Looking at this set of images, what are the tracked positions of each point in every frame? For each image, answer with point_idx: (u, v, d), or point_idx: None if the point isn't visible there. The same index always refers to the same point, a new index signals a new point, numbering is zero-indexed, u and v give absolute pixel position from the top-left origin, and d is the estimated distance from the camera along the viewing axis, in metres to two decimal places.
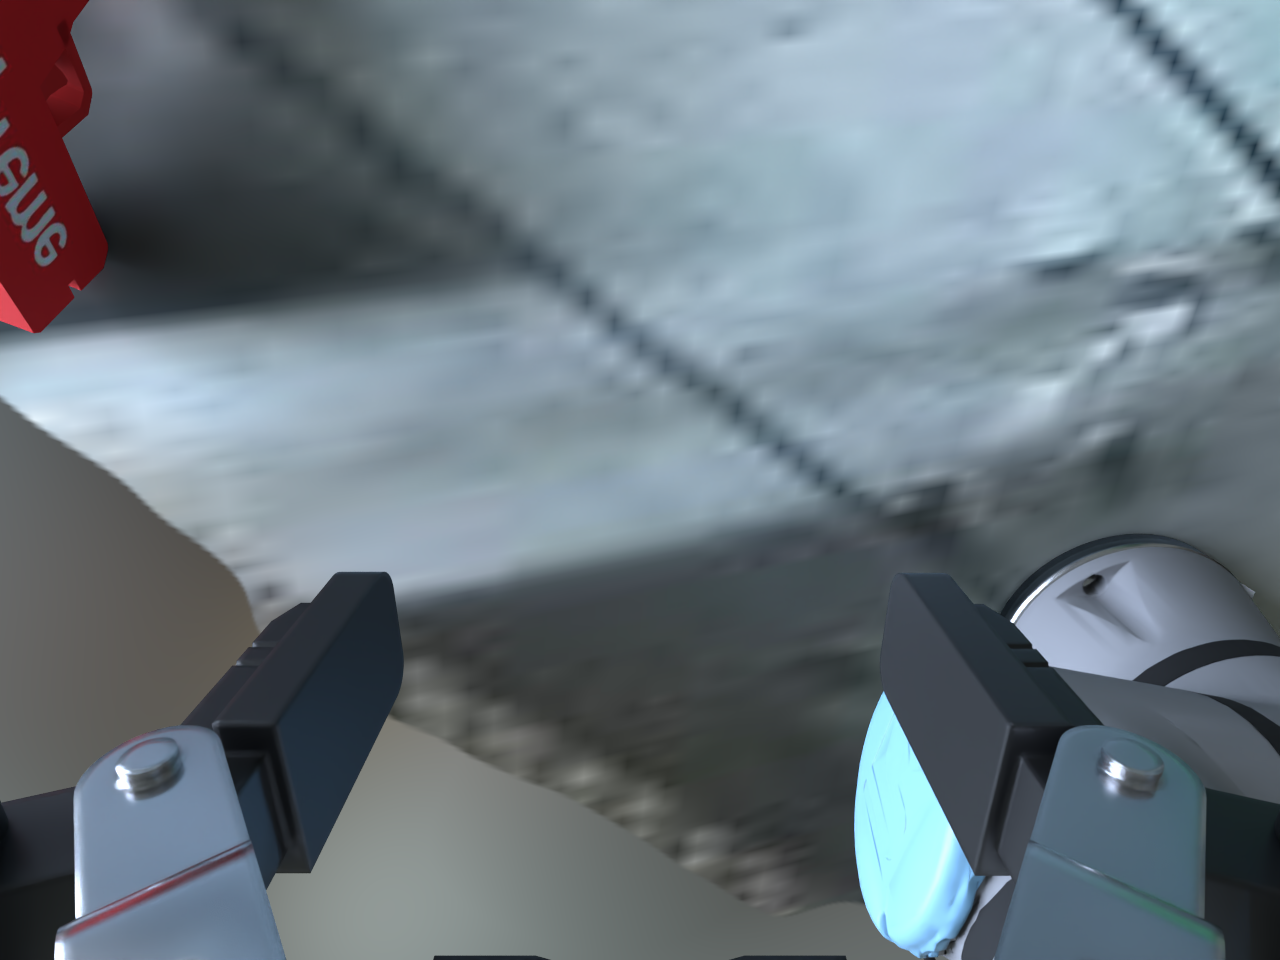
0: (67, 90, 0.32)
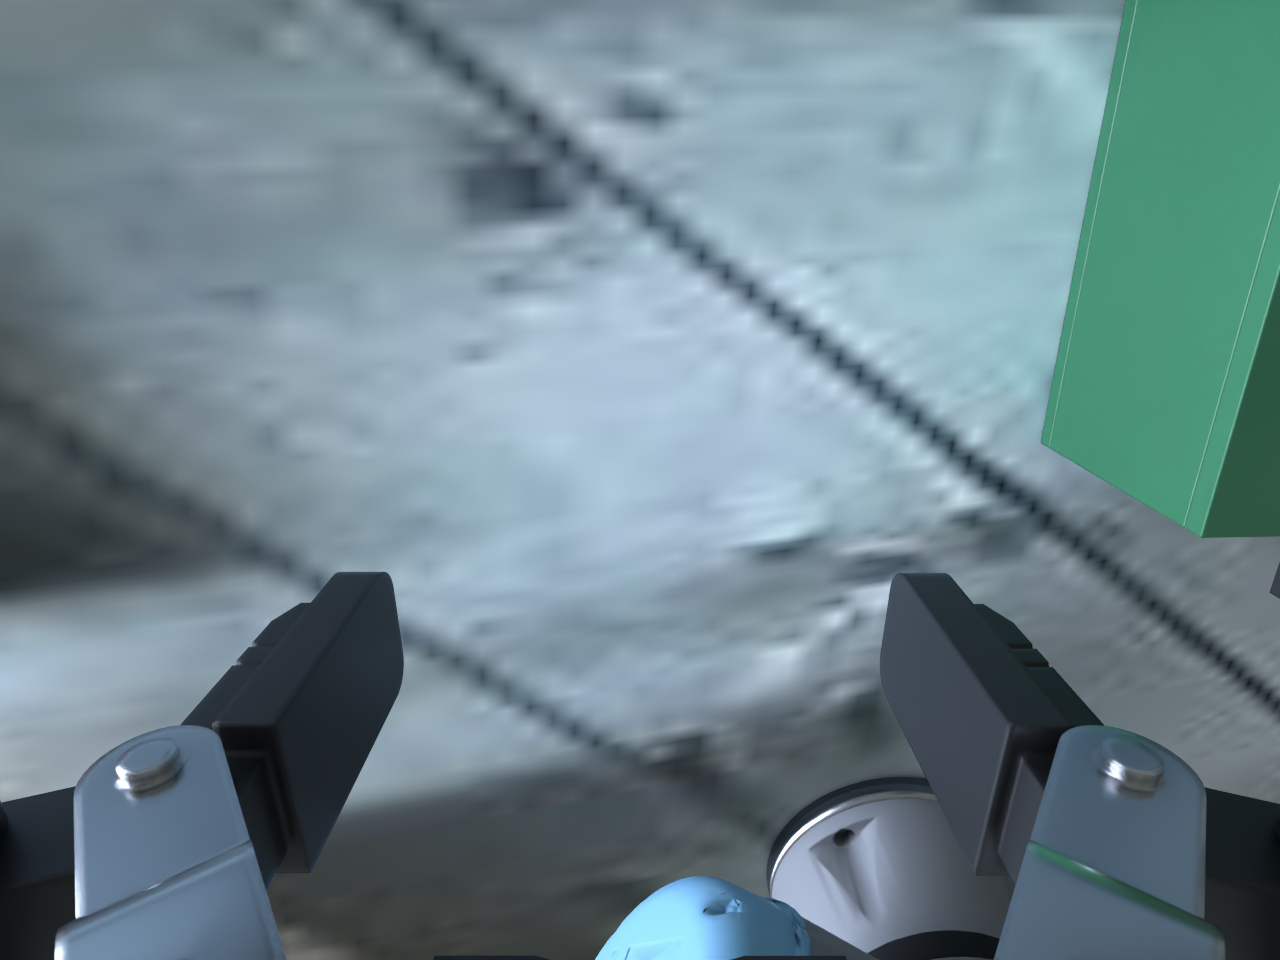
0: None
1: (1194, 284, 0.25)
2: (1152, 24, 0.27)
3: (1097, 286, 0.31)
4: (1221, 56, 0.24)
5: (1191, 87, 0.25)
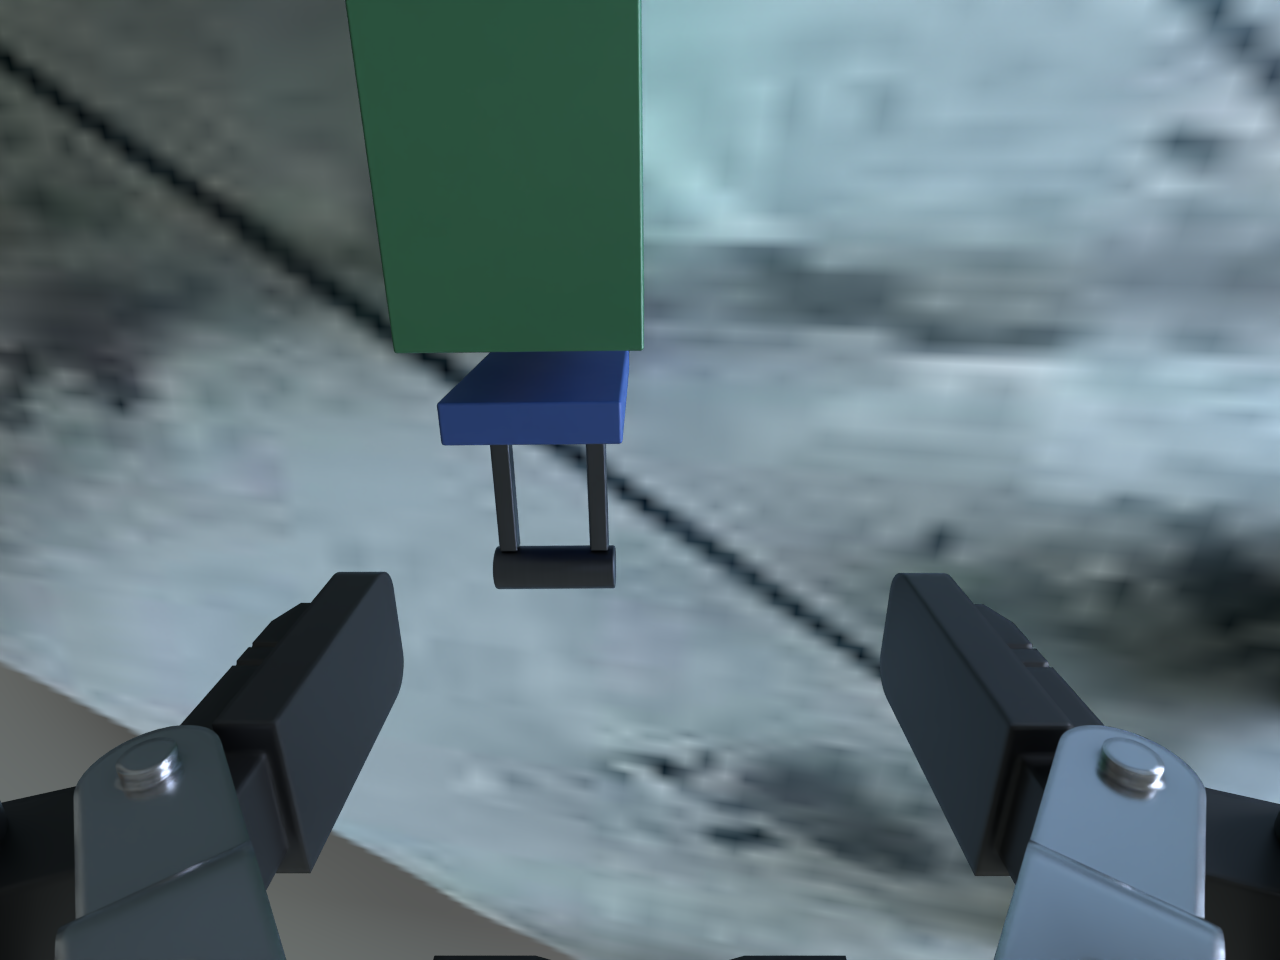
0: None
1: None
2: None
3: None
4: None
5: None
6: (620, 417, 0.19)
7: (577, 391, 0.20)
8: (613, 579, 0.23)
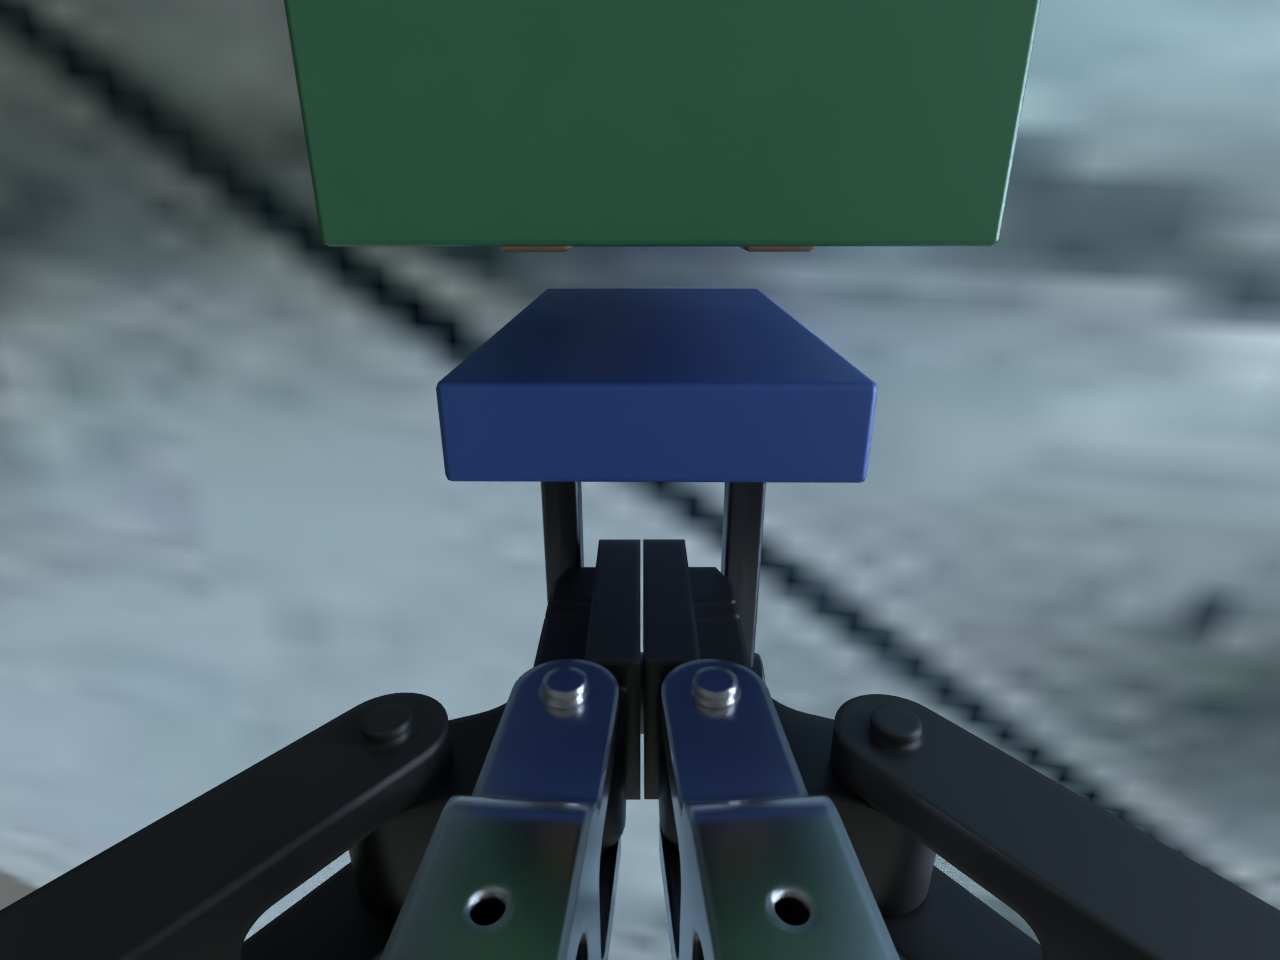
0: None
1: None
2: None
3: None
4: None
5: None
6: (871, 421, 0.08)
7: (750, 362, 0.09)
8: None
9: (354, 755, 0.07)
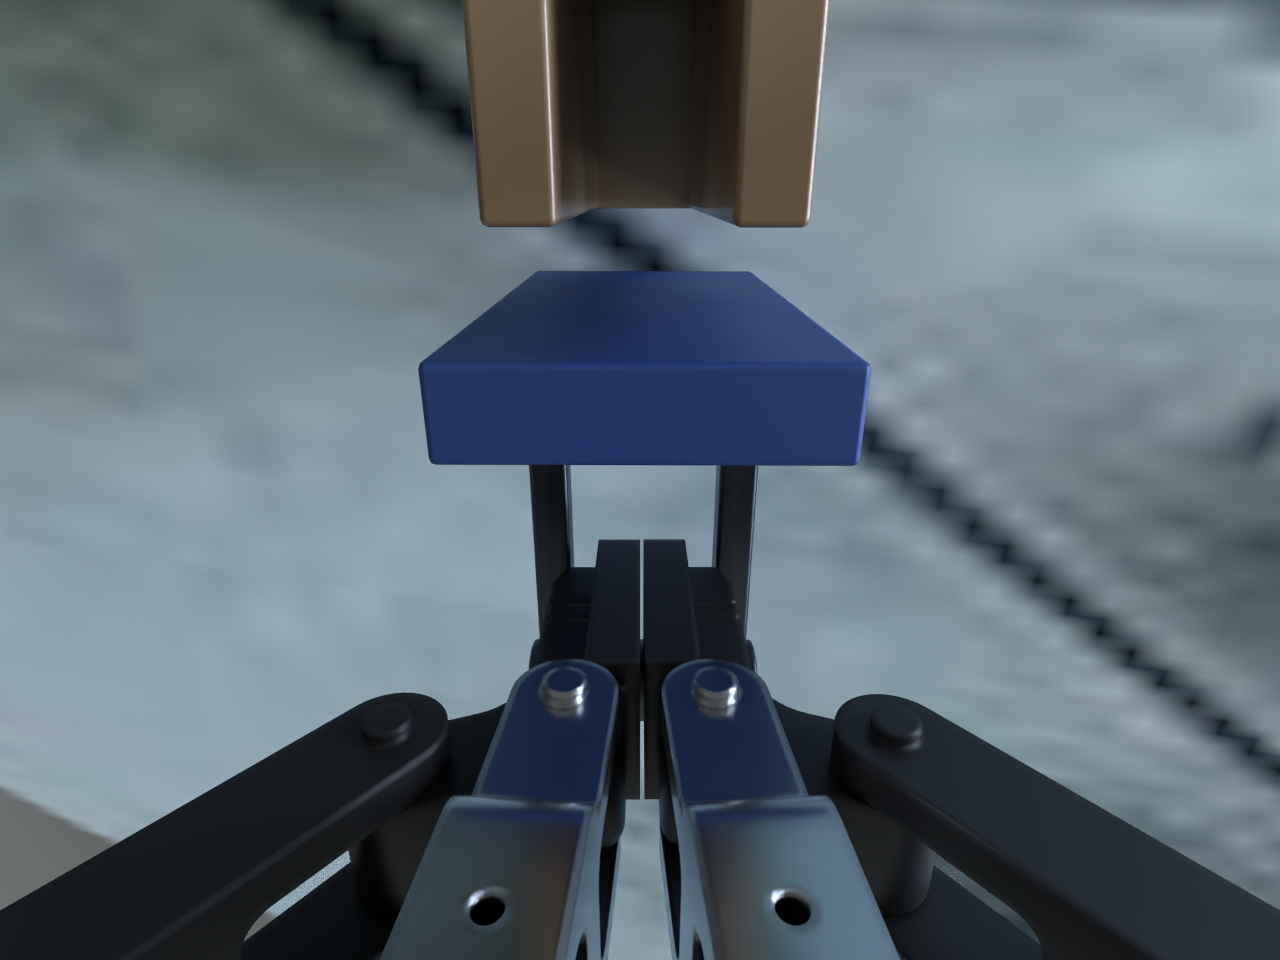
0: None
1: None
2: None
3: None
4: None
5: None
6: (865, 403, 0.08)
7: (742, 342, 0.09)
8: None
9: (354, 755, 0.07)
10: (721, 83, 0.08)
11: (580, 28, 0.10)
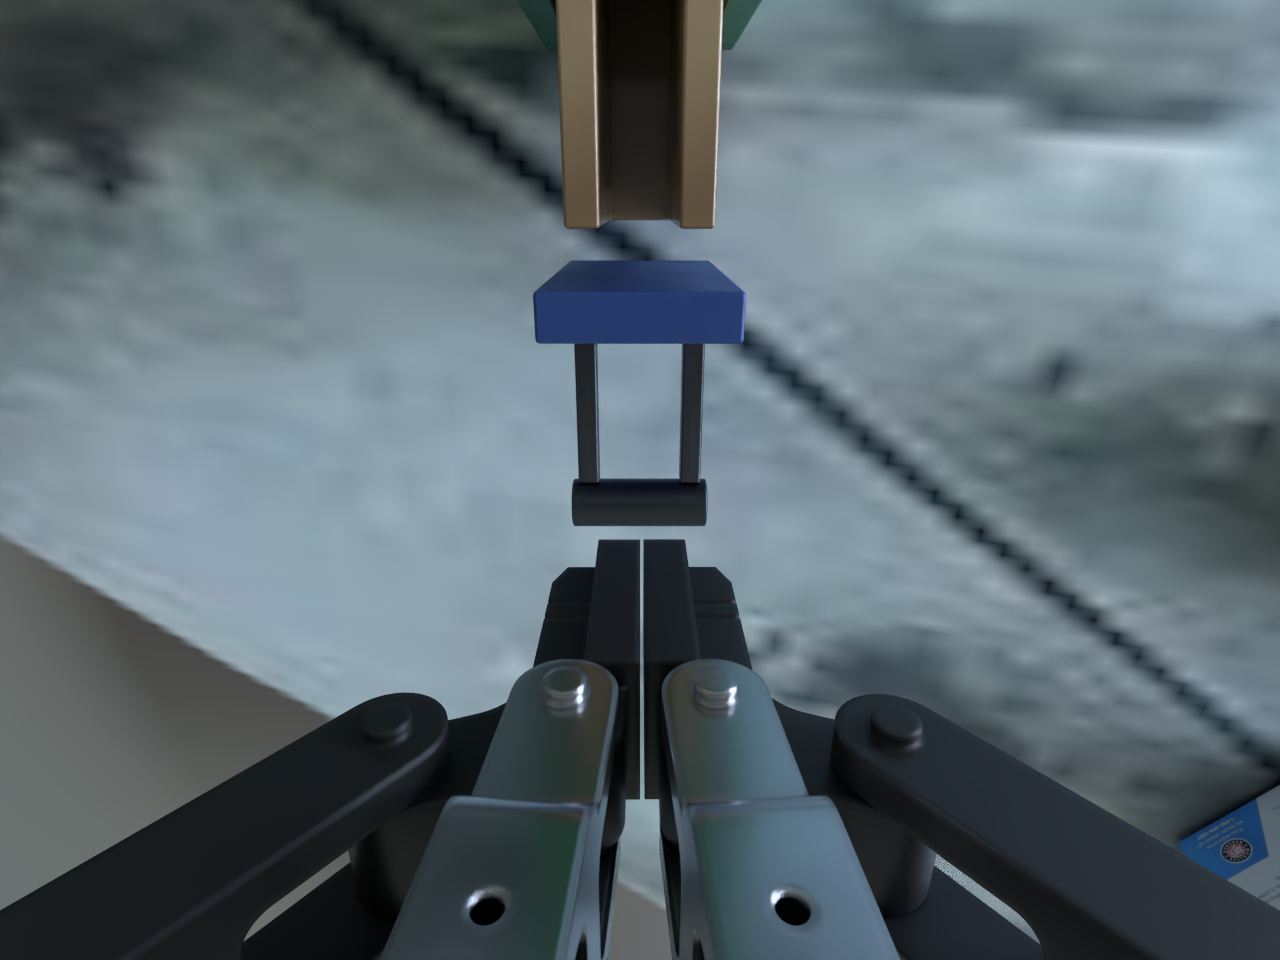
0: None
1: None
2: None
3: None
4: None
5: None
6: (743, 311, 0.16)
7: (688, 286, 0.17)
8: (705, 515, 0.21)
9: (354, 756, 0.07)
10: (676, 159, 0.17)
11: (605, 124, 0.19)
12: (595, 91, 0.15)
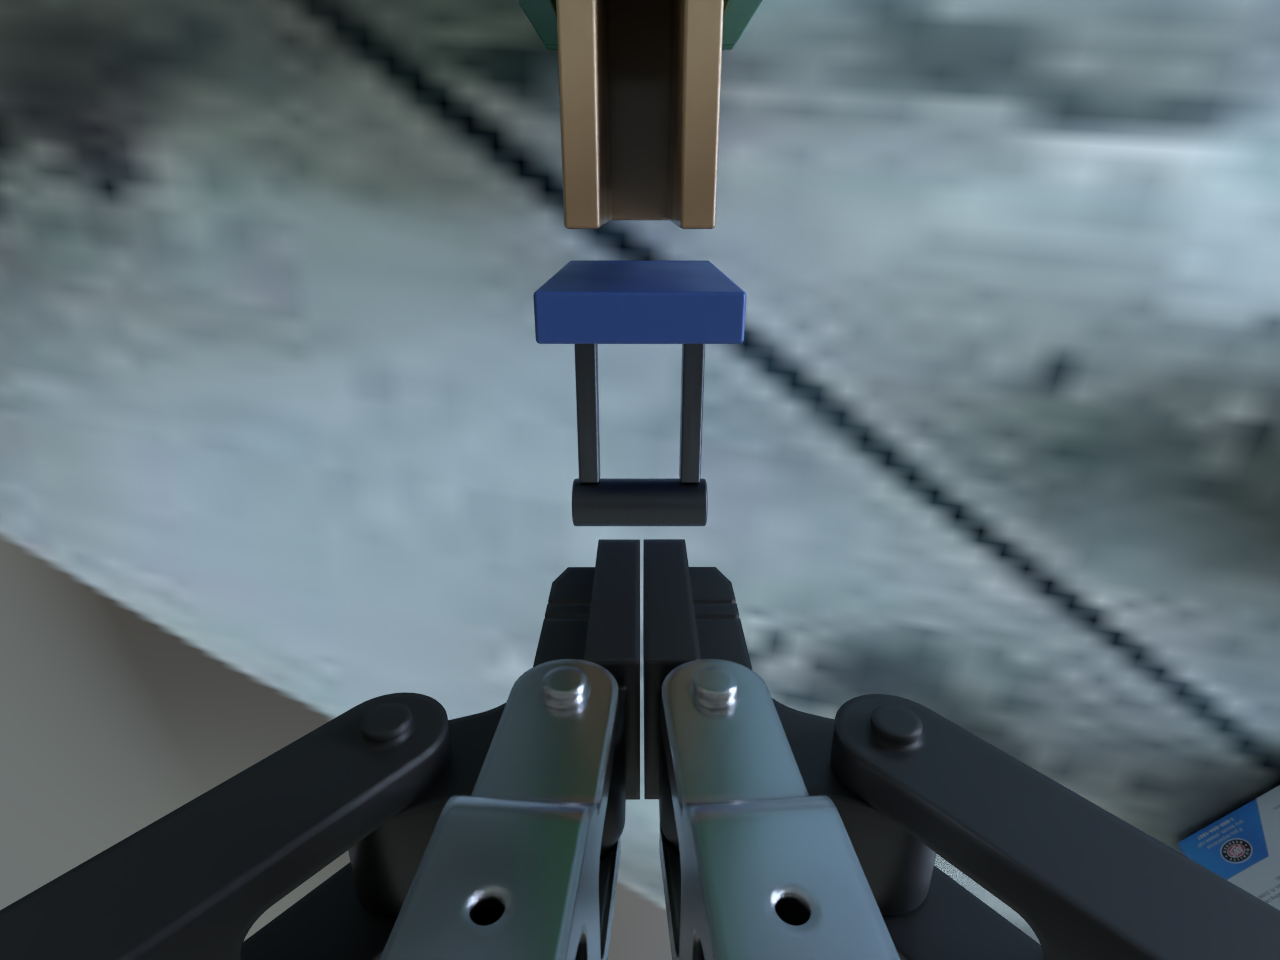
0: None
1: None
2: None
3: None
4: None
5: None
6: (744, 311, 0.16)
7: (688, 286, 0.17)
8: (706, 515, 0.21)
9: (354, 756, 0.07)
10: (677, 159, 0.17)
11: (605, 125, 0.19)
12: (596, 91, 0.15)
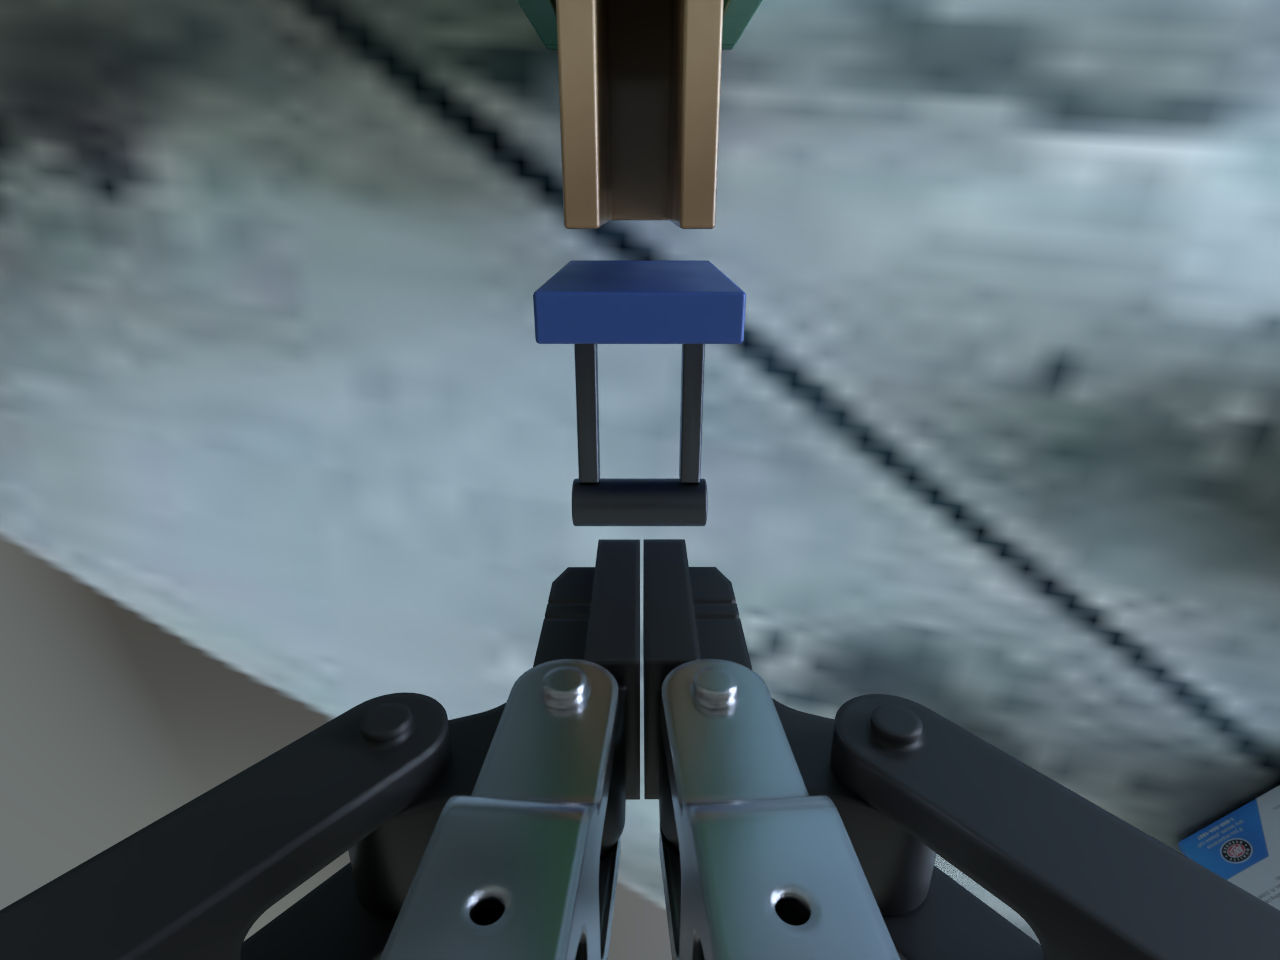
0: None
1: None
2: None
3: None
4: None
5: None
6: (743, 311, 0.16)
7: (688, 286, 0.17)
8: (705, 515, 0.21)
9: (354, 756, 0.07)
10: (676, 159, 0.17)
11: (605, 125, 0.19)
12: (596, 91, 0.15)
